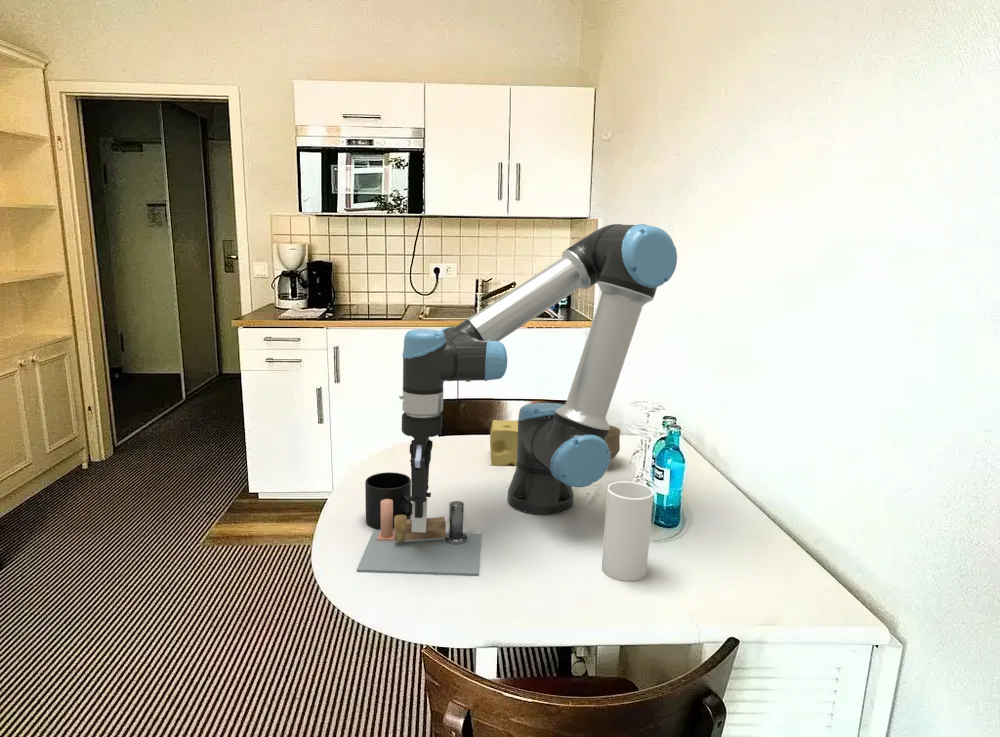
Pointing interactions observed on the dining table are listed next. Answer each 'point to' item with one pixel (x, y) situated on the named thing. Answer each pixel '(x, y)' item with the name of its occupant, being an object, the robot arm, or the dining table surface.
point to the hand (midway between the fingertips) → (418, 530)
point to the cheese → (504, 442)
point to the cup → (627, 530)
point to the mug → (387, 496)
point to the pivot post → (456, 524)
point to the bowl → (613, 441)
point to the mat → (422, 556)
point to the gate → (404, 532)
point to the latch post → (386, 521)
